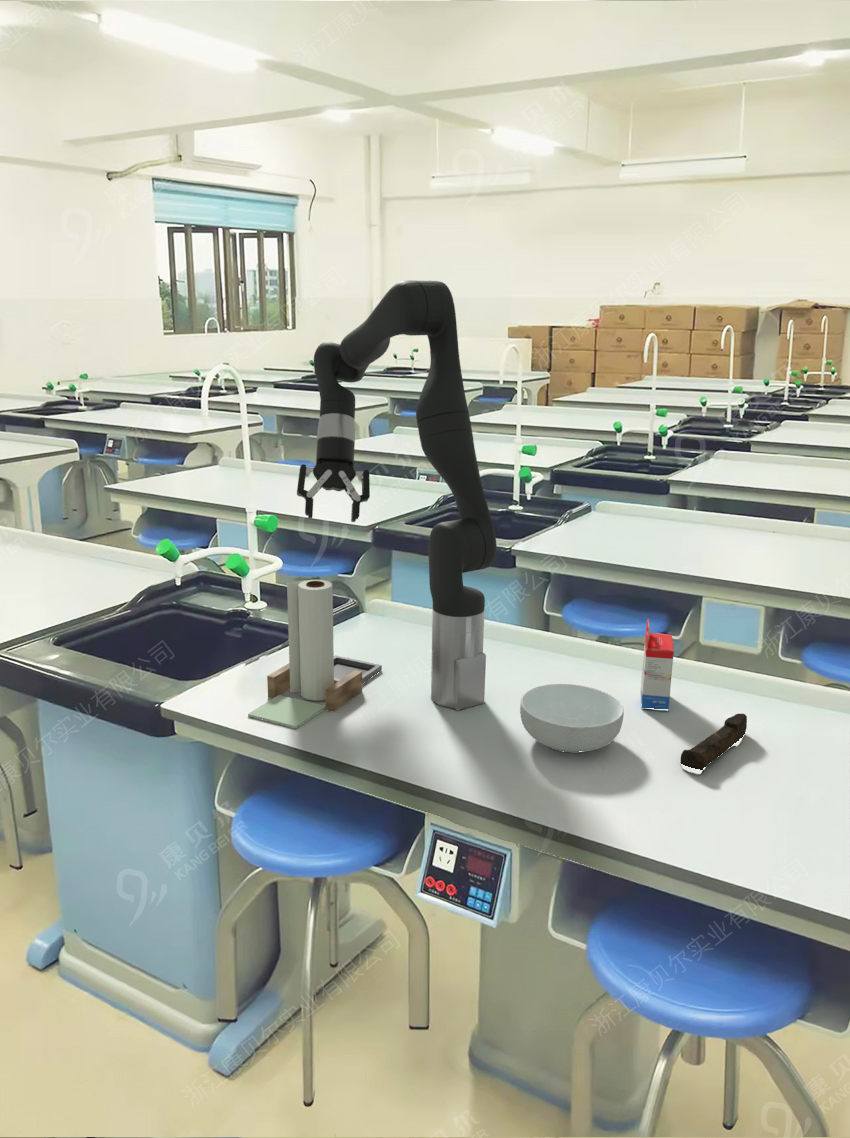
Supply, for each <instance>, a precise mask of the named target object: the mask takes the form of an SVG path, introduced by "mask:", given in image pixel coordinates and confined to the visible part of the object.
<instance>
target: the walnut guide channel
mask: <svg viewBox="0 0 850 1138" xmlns="http://www.w3.org/2000/svg"><path fill="white" fill-rule="evenodd" d="M266 679H267V681H266V682H267V697H269V698H272V699H273V698H274V697H276V696H278V695H282V694H283V693H285V692H287V691H288V690H290V666H289V663H287V664H286V665H283V666H282V667H280V668H279V669H277V670H275V671H273V672H271V673H270V674H269V675H267V677H266ZM362 692H363V684H362V671H357V670H354V671H353V672H351V673H350V674H348V675H347V676H345V677H344V678H342V679H341V680H339V681H338V682H336V683H335V684H333V685H332V686H330V687H329V688H327V689H326V699H325V711H326V710H328V711H327V712H331V711H332V712H331V713H334V712H336V711H337V710H338V708H339V709H340V708H341V707H343V706H344V705H346V704H347V703H348V702H350V701H352V700H353V699H354V698H355V697H357V696H358V695H360V694H361V693H362ZM352 698H353V699H352ZM349 700H350V701H349Z"/></svg>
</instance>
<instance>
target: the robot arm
mask: <svg viewBox="0 0 850 1138" xmlns="http://www.w3.org/2000/svg"><path fill="white" fill-rule="evenodd" d="M400 335H404V336H427V338H428V339H427V340H428V344H429V355H430V356H429V357H430V365H429V370H428V373H427V376H426V380H425V382H424V384H423V387H422V390H421V392H420V395H419V398H418V401H417V405H416V409H415V417H416V425H417V431H418V435H419V442H420V447H421V449H422V451H423V453H424V456H425V458H426V459H427V460H428V462H429V463H430V464H431V466H432V467H433V468H434V469H435V471H436V472H437V474H438V475H439V476H440V477H441V478H442V479H443V480H444V482H445V483H446V485H447V486H448V488H449V489H450V491H451V493H452V496H453V497H454V500H455V503H456V508H457V510H458V515H459V519H455V520H450V521H449V520H448V521H441V522H439V523H437V524H435V525H434V526H433V527H432V529H431V531H430V534H429V539H428V547H427V549H428V551H427V552H428V553H427V554H428V574H429V576H428V578H429V591H430V595H431V599H432V600H431V601H432V612H431V613H432V622H431V628H432V629H431V670H430V671H431V672H430V673H431V674H430V675H431V676H430V677H431V679H430V680H431V681H430V682H431V683H430V684H431V685H430V688H431V689H430V698H431V700H432V701H433V702H434V703H435V704H437V705H439V706H442V707H446V708H452V709H454V710H455V711H460V710H463V709H466V708H467V709H468V708H470V707H474V706H477V705H480V704H484V703H485V694H486V691H485V689H486V666H487V664H486V663H487V655H486V653H485V652H484V638H485V637H484V635H485V634H484V633H485V611H486V610H485V604H486V598H485V595H484V593H483V592H482V591H481V590H479V589H477V588H473V587H470V586H466V585H464V582H463V579H464V578H463V573H470V572H473V571H480V570H485V569H488V568H490V567H491V566H492V565H493V564H494V562H495V560H496V556H497V548H498V547H497V546H498V545H497V538H496V537H497V536H496V532H495V527H494V524H493V520H492V516H491V514H490V513H491V512H490V509H489V506H488V502H487V498H486V495H485V491H484V488H483V484H482V480H481V474H480V470H479V465H478V460H477V455H476V448H475V441H474V435H473V429H472V424H471V423H472V422H471V416H470V411H469V407H468V403H467V398H466V394H465V393H466V392H465V386H464V381H463V375H462V367H461V360H460V352H459V350H460V349H459V339H458V338H459V337H458V336H459V335H458V326H457V315H456V307H455V303H454V297H453V295H452V292H451V290H450V288H449V286H448V285H447V284H446V283H444V282H442V281H438V280H413V279H412V280H410V279H409V280H402V281H399V282H397V283H395V284H394V285H393V286H391V287H390V289H389V290H388V291H387V292H386V293H385V294H384V296H383V297H382V299H381V300H380V301H379V302H378V304H377V305H376V306H375V308H374V309H373V310H372V311H371V313H370V314H369V316H367V318H366V320H364V321H363V322H362V323H361V324H360V325H359V326H357V327H356V328H355V329H353V330H352V331H351V332H349V333H348V334H346V336H344V337H343V339H342V340H341V342H340V343H336V342H332V341H324V342H321V343H319V345H318V346H317V348H316V350H315V351H314V355H313V368H314V374H315V378H316V381H317V387H318V391H319V392H318V393H319V397H320V404H319V405H320V406H319V420H318V423H317V424H318V425H317V433H316V440H317V441H316V452H315V454H316V455H315V456H316V457H315V464H314V465H315V466H313V467H312V466H307V465H306V464H301V465H300V467H299V472H298V482H297V487H296V488H297V489H296V495H297V496H298V497H301V498H304V500H305V503H304V504H305V505H304V506H305V507H304V514H305V516H307V519H309V520H310V519H313V516H314V515H313V514H314V513H313V511H314V498H313V497H315V496H316V494H317V493H319V491H321V489H323V490H325V491H336V492H342V491H344V492H345V493H346V495H347V496H348V497H349V498H350V500H351V501H352V504H351V513H350V514H351V516H350V517H351V518H350V522H351V523H355V522H356V520H358V519H359V517H360V512H361V511H360V510H361V503H365V502H368V501H369V499H370V496H371V495H370V494H371V493H370V492H371V491H370V485H371V483H370V470H369V469H364V470H363V471H362V470H358V471H357V470H356V469H355V467H354V466H355V465H354V463H355V443H356V425H355V423H356V422H355V419H356V418H355V416H356V395H355V393H354V392H353V391H351V390H350V389H348V388H347V387H344V386H342V385H341V384H340V383H339V381H341V382H345V383H356V382H360V380H362V379H363V377H364V376H365V375H364V374H365V372H366V370H367V369H368V367H369V366H370V365H371V364H372V363H374V362H375V361H377V360H378V359H380V358H381V357H382V356H384V354H385V353H386V352H387V351H388V348H389V346H390V343H391V338H393V337H396V336H400ZM311 474H313V476H314V478H315V479H316V482H315V483H314V484H313V486H312V487H311V488H310V489H309V490H306V489H305V483H306V479H307V478H309V477H310V475H311ZM355 477H356V478H357V481H358V482H359V483H361V494H360V495H359V493H358V491H356V488H355V486H354V485H353V483H352V482H353V480H354V479H355Z"/></svg>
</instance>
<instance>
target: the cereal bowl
mask: <svg viewBox="0 0 850 1138" xmlns="http://www.w3.org/2000/svg"><path fill="white" fill-rule="evenodd" d="M519 713H520V720H521V723H522V725H523V728H524V730H525V731H526V732H527V733H528V734H529V736H531V737H532V738H533V739H534V740H536V741H537V742H538V743H541V744H542V745H544V746H547V747H548V748H550V747H551V749H552V748H553V750H554V749H555V751H557V750H558V751H557V752H560V751H564V752H563V753H565V752H579V751H585V752H589V751H590V752H591V751H596V750H599V749H601V748H603V747H606V746H607V745H609V744H610V743H612V742H613V741H614V740H615V739H616V738H617V736H618V735H619V734H620V732H621V729H622V726H623V722H624V716H625V715H624V714H625V713H624V705H623V704H622V702H621V701H620V700H619V699H617V698H616V696H613V695H612V694H609V693H608V692H605V691H602V690H600V689H598V688H595V687H589V686H585V685H579V684H571V683H551V684H543V685H540V686H535V687H533V688H531V689H529V690H527V691H526V692H525V693H523V695H522V697H521V700H520V708H519Z"/></svg>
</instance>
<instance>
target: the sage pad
mask: <svg viewBox="0 0 850 1138" xmlns="http://www.w3.org/2000/svg"><path fill="white" fill-rule="evenodd" d="M322 710H323V711H324V710H326V705H322V704H317V703H313V702H309V701H307V700H305V701H304V700H301V699H297V698H294V697H288V696H284V695H282V694H280V695H278V696H276V697H274V698H273V697H272V698H271V699H270V700H267V702H265V703H263V704H261V705H260V706H258V707H257V708H255V709H253V710H252V711H250V712H248V713H247V716H249V718H252V717H254V718H253V719H256V718H258V719H257V720H260V719H263V720H262V721H264V720H266V721H265V722H268V721H270V722H269V723H271V722H273V723H272V724H275V723H277V724H276V725H279V724H282V725H281V726H283V725H285V726H284V727H287V726H288V727H287V728H291V727H293V728H292V729H295V728H297V727H298V728H300V727H301V726H302V724H303V723H304V724H306V723H307V722H308V721H310V720H311V719H312V717H313V716H314V717H315V715H316V714H317V715H318V714H320V713H321V712H323V711H322ZM317 715H316V716H317ZM314 717H313V718H314ZM309 719H310V720H309ZM306 721H307V722H306ZM304 724H303V725H304ZM300 725H301V726H300ZM299 726H300V727H299ZM298 728H297V729H298Z"/></svg>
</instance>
